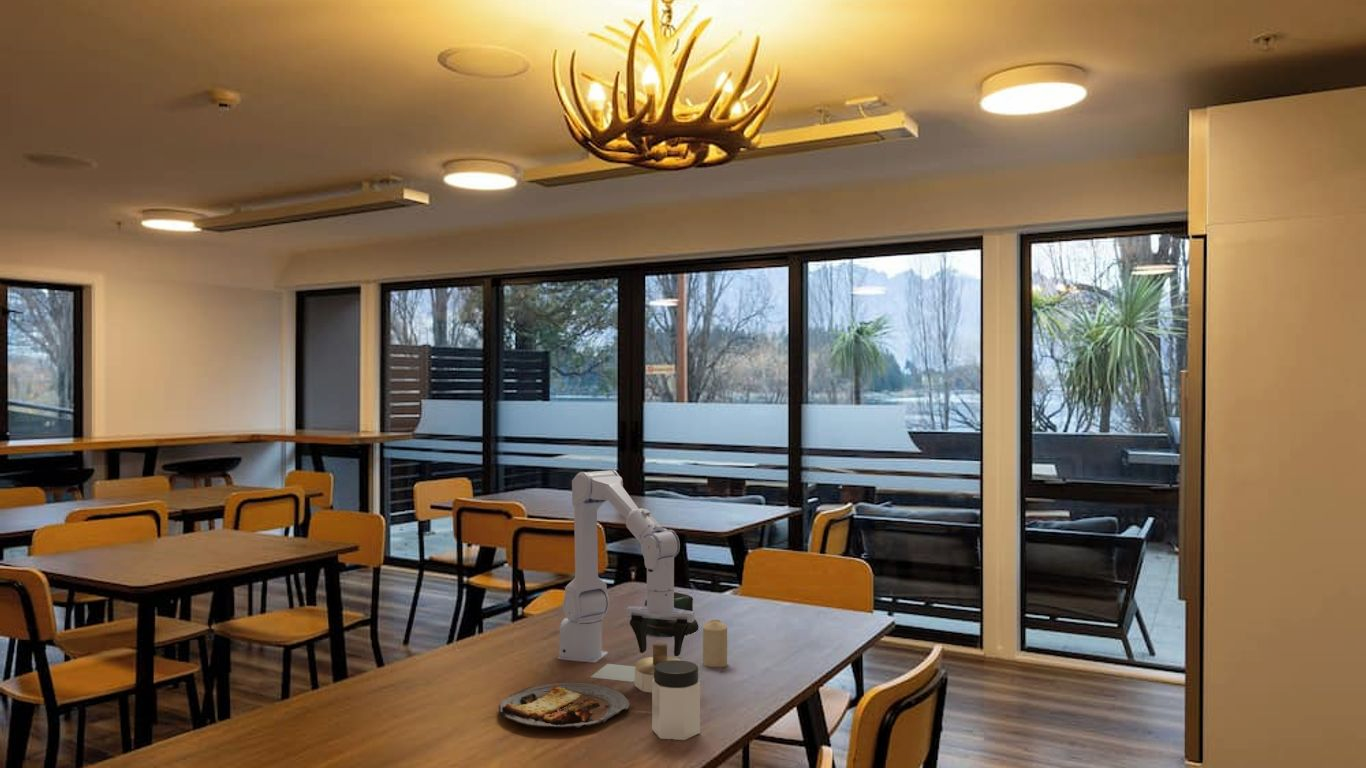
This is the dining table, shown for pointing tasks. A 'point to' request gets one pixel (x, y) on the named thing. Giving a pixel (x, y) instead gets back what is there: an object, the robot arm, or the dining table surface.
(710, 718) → the dining table surface
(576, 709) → the food plate
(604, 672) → the mat
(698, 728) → the jar
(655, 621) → the black rounded piece
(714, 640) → the candle
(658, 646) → the lid
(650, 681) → the bowl
